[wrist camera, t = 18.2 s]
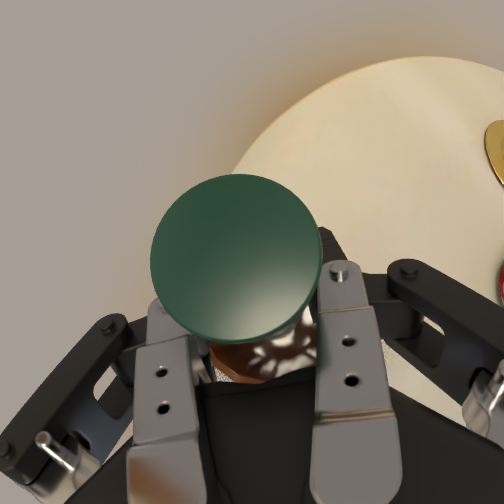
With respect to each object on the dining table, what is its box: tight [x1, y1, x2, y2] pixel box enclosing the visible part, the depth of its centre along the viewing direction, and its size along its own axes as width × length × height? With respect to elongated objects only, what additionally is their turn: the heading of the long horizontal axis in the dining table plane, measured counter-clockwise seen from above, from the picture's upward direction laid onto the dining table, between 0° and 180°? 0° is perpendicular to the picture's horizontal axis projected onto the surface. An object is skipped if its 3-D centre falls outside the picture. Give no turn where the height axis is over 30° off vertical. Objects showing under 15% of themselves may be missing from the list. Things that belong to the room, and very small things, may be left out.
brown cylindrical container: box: [209, 305, 316, 384], centre depth 20 cm, size 8×8×9 cm
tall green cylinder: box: [150, 174, 323, 344], centre depth 11 cm, size 3×3×12 cm
